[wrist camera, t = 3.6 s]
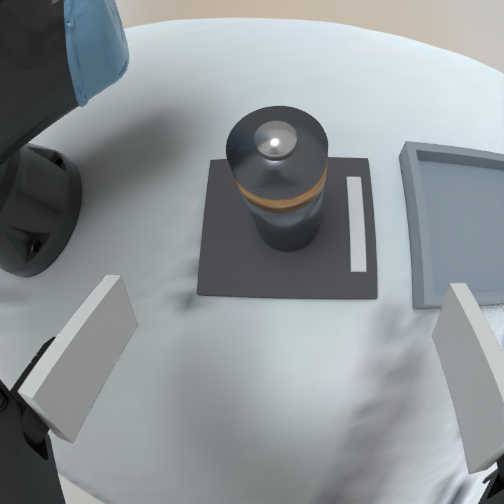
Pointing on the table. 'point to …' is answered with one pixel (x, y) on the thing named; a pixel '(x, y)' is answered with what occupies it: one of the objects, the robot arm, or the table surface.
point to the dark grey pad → (298, 262)
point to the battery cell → (280, 173)
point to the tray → (454, 221)
